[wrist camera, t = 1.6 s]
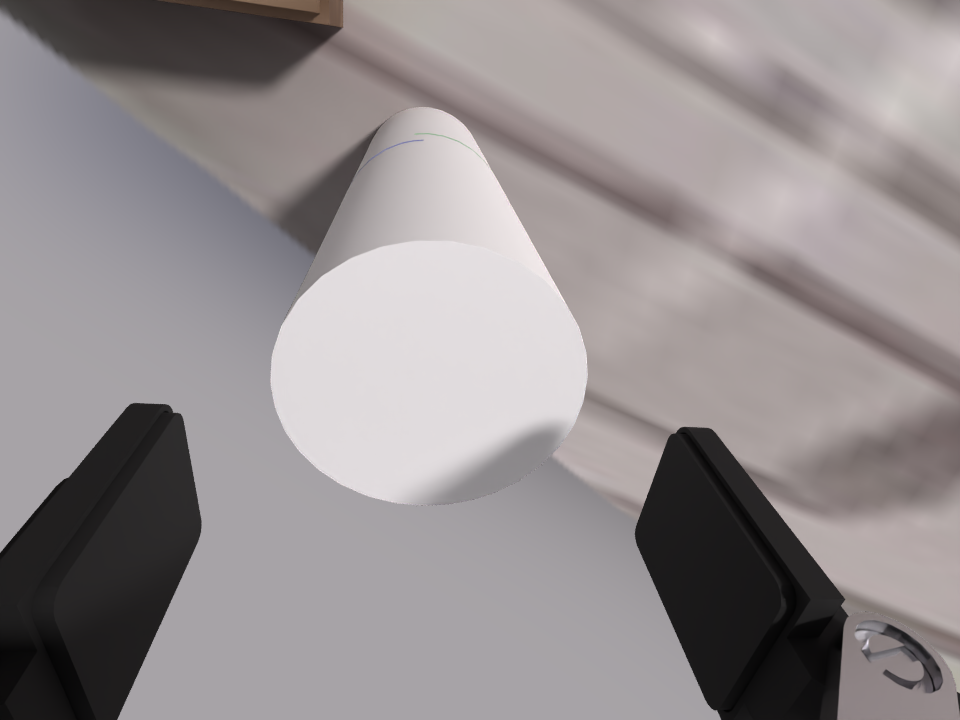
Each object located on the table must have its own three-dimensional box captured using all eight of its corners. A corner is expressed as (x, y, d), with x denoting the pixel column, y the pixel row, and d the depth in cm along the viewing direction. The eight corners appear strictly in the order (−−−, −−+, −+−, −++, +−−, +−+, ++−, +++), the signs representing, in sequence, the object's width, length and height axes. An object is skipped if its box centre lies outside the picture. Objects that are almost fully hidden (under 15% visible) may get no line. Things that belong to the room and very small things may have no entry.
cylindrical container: (349, 125, 32) (207, 294, 11) (465, 92, 32) (560, 197, 10) (389, 238, 36) (342, 532, 14) (493, 209, 35) (604, 466, 14)
